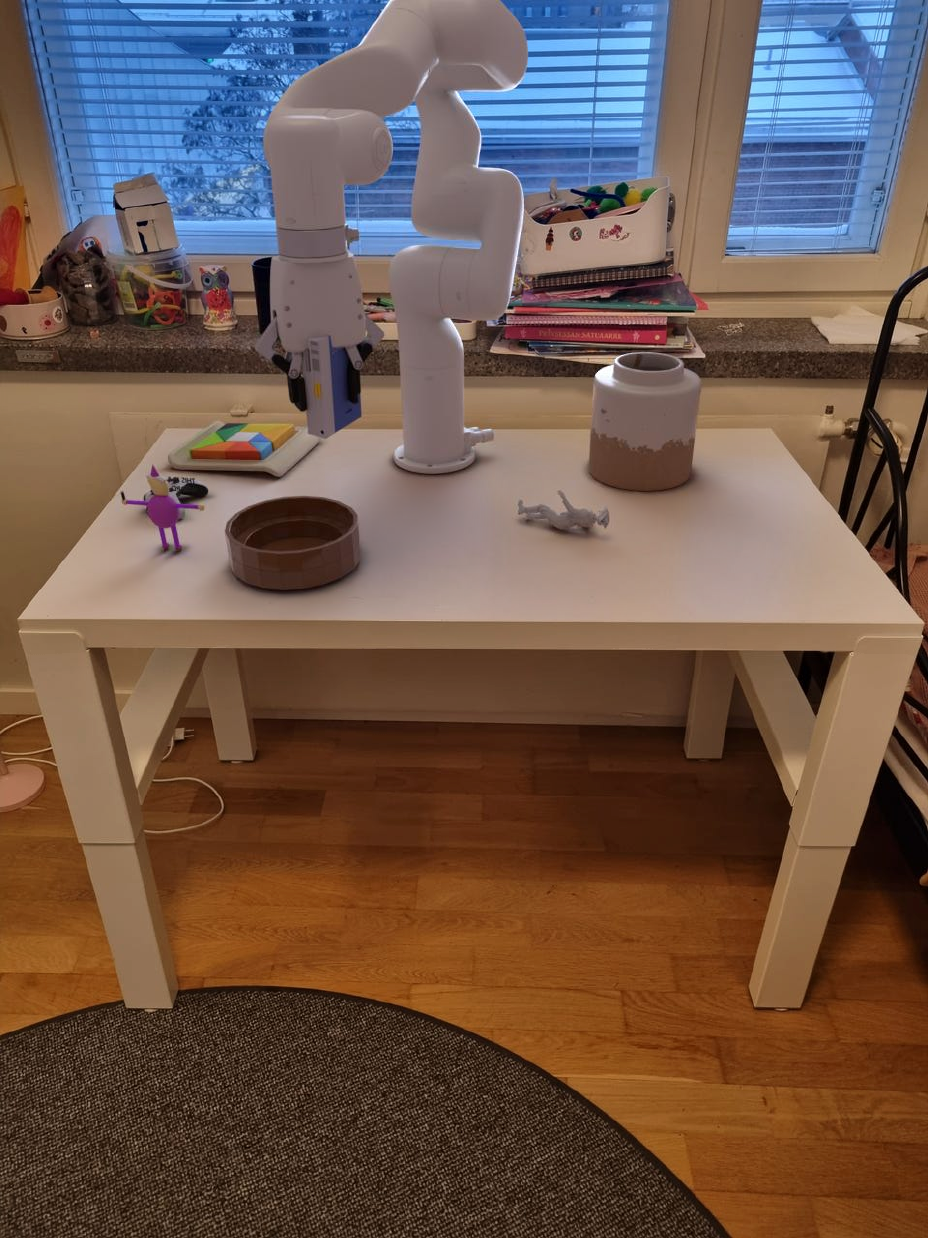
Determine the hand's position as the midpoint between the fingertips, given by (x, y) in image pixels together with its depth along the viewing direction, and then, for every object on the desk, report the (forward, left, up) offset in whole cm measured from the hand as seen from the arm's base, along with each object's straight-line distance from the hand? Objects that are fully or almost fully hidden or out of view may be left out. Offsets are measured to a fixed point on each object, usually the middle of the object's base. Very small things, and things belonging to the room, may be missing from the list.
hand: (326, 402), depth 114 cm
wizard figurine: (+20, -9, -20) cm, 30 cm away
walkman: (-1, 0, -3) cm, 4 cm away
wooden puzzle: (+3, -38, -20) cm, 43 cm away
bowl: (+6, +1, -20) cm, 21 cm away
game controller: (+17, -23, -20) cm, 35 cm away
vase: (-49, -5, -20) cm, 53 cm away
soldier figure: (-29, +7, -20) cm, 36 cm away
